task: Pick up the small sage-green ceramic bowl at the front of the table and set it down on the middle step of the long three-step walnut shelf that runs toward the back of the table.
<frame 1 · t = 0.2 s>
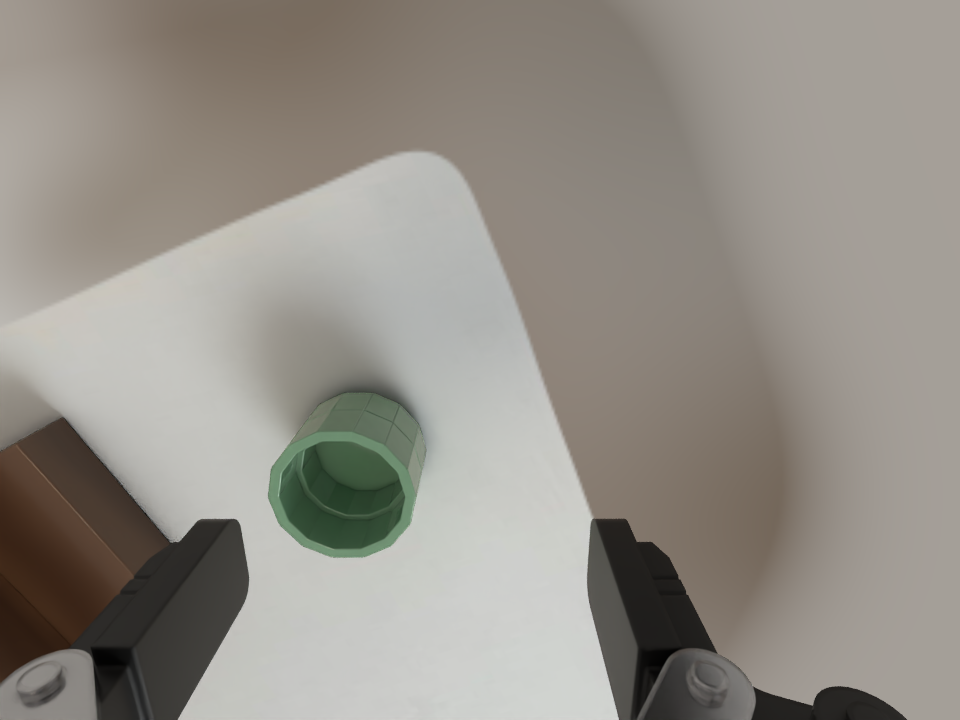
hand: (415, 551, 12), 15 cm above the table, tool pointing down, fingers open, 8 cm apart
bowl: (365, 444, 28), on the table
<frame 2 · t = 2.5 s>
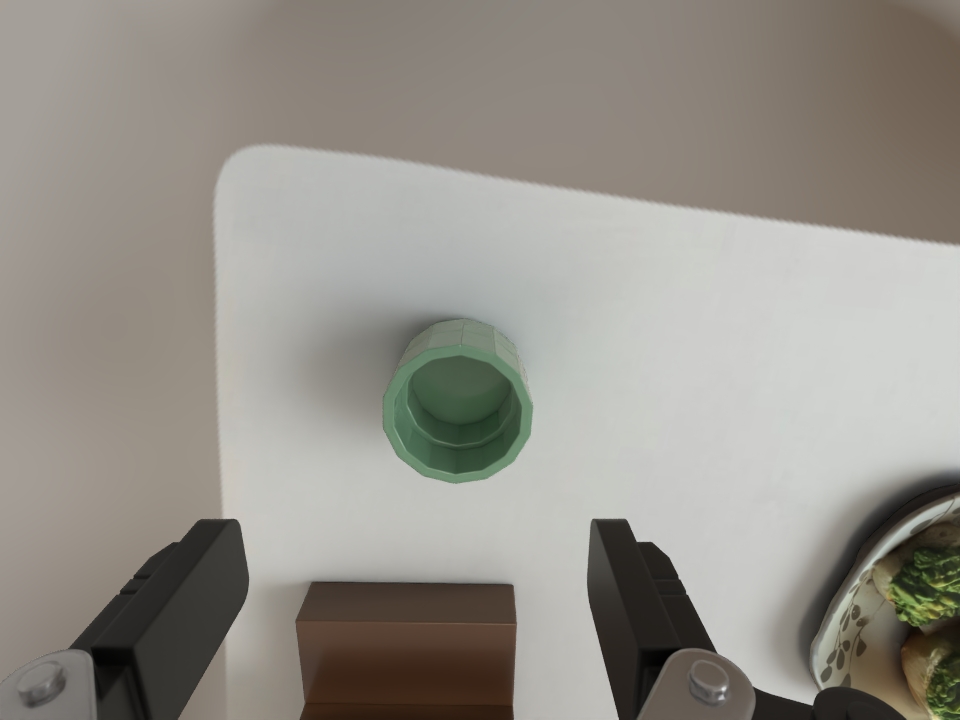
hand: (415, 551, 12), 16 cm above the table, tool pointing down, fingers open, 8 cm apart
salad plate: (959, 597, 32), on the table
bowl: (461, 377, 27), on the table
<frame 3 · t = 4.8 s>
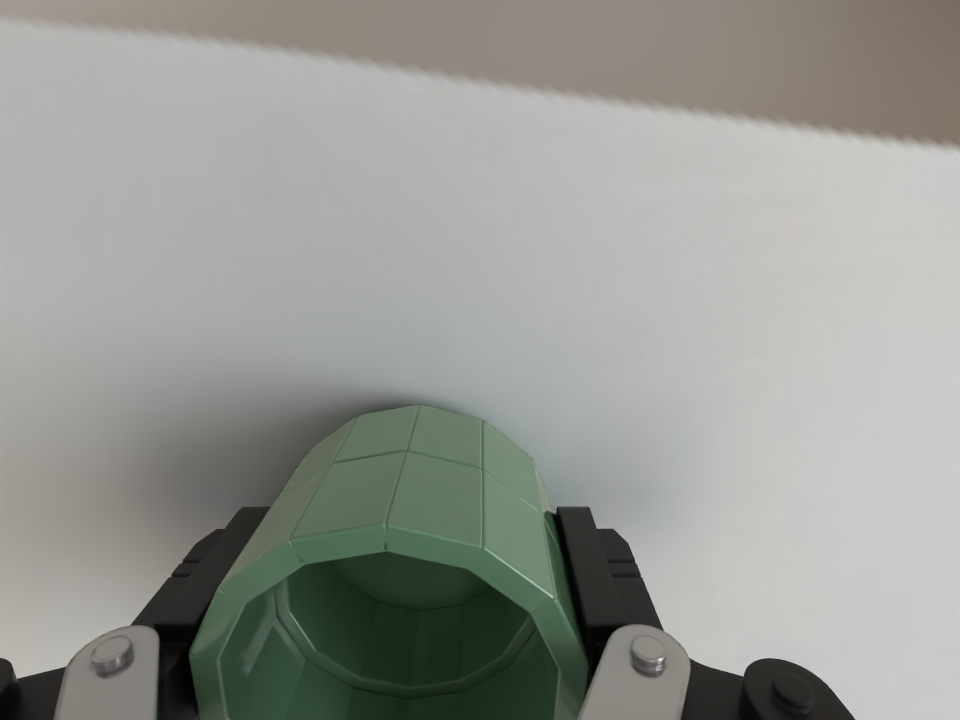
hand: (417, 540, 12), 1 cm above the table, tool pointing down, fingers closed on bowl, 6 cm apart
bowl: (422, 515, 13), on the table, touching gripper
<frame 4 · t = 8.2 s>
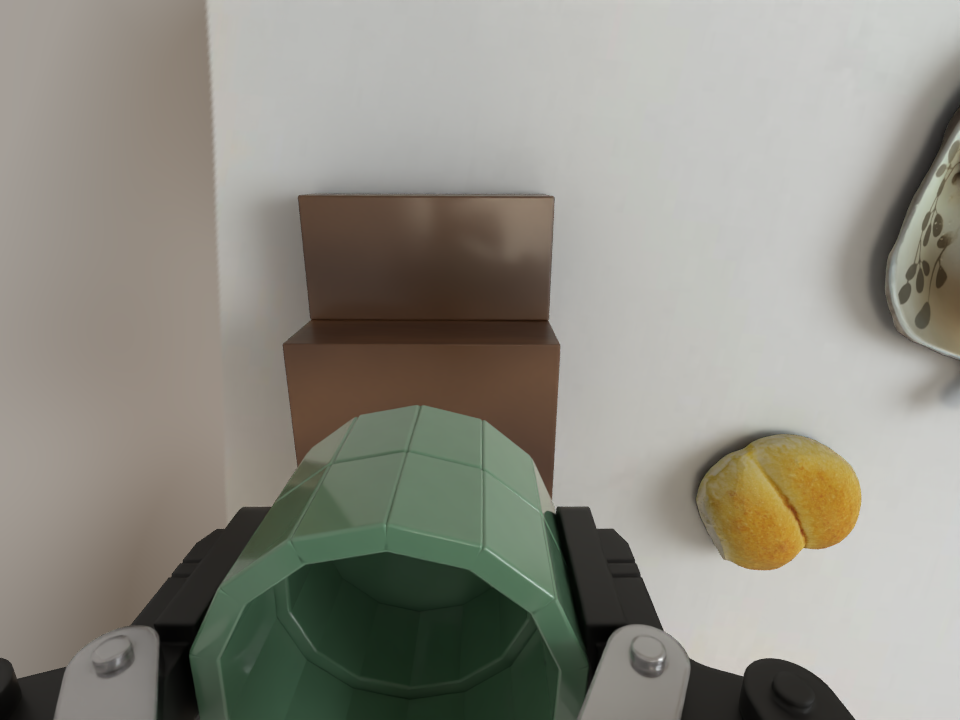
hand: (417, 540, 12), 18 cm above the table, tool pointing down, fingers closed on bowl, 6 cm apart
bread roll: (762, 490, 34), on the table
bowl: (423, 515, 13), point 17 cm above the table, touching gripper
shelf: (436, 398, 31), on the table
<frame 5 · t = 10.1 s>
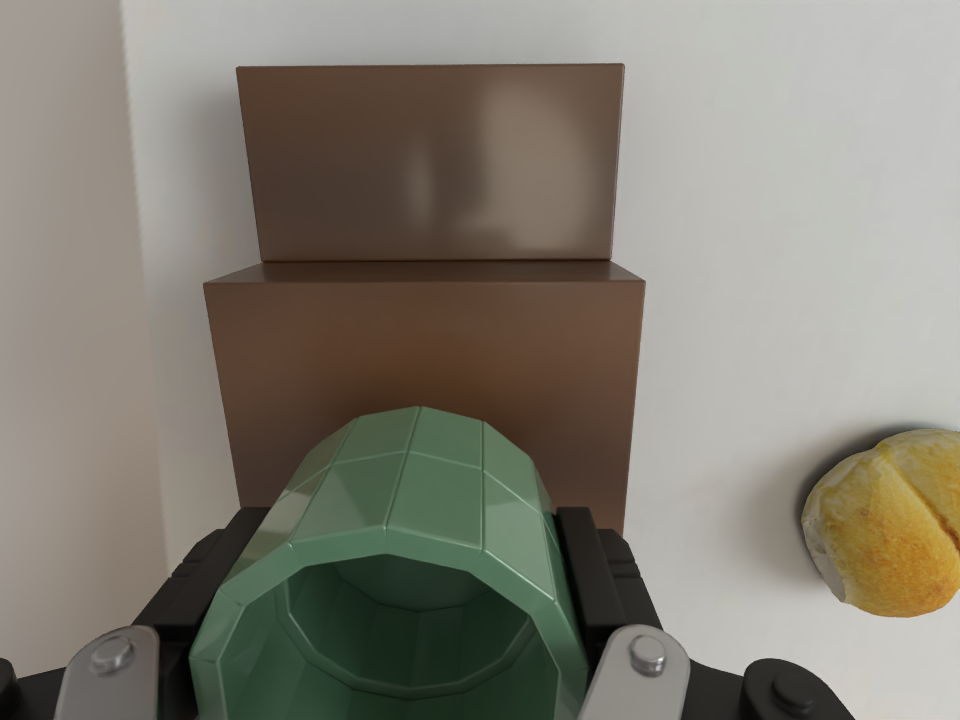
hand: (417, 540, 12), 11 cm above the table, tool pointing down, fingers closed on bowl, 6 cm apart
bread roll: (888, 506, 25), on the table
bowl: (422, 516, 13), point 10 cm above the table, touching gripper
shelf: (445, 382, 23), on the table
when the fingers open (8 cm above the table, at t = 11.5 s): bowl stays where it is, resting on shelf.
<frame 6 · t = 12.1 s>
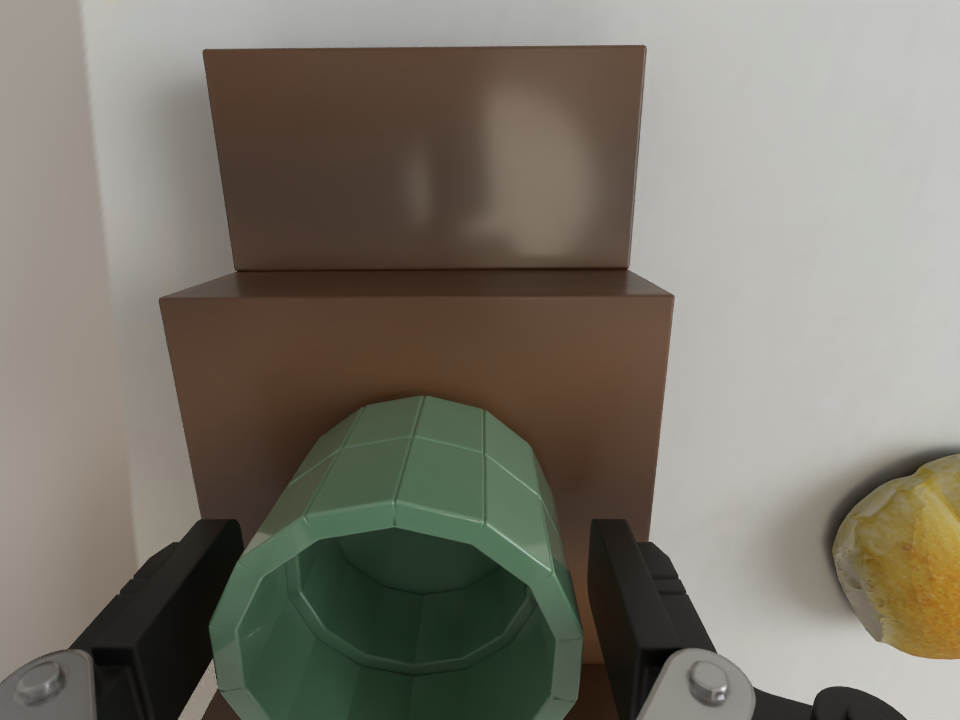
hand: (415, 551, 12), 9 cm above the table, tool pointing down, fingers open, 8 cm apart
bread roll: (927, 535, 23), on the table
bowl: (426, 502, 14), point 7 cm above the table, touching shelf
shelf: (443, 401, 21), on the table
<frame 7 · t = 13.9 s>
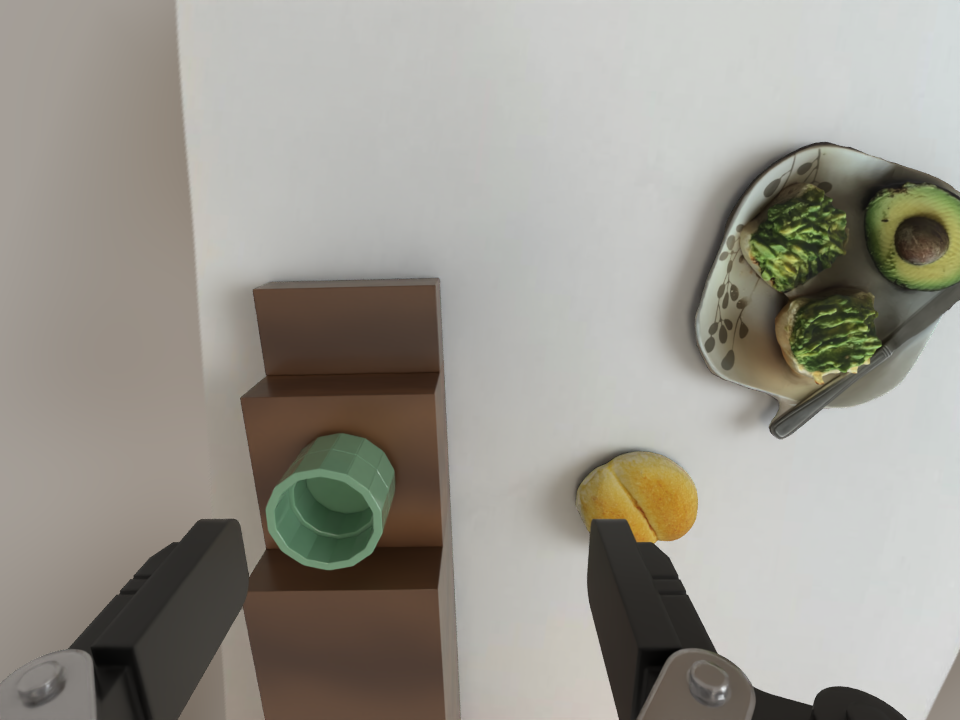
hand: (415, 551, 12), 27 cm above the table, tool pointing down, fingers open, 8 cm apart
salad plate: (824, 278, 37), on the table
bread roll: (630, 495, 43), on the table
bowl: (346, 475, 34), point 7 cm above the table, touching shelf
shelf: (368, 429, 41), on the table
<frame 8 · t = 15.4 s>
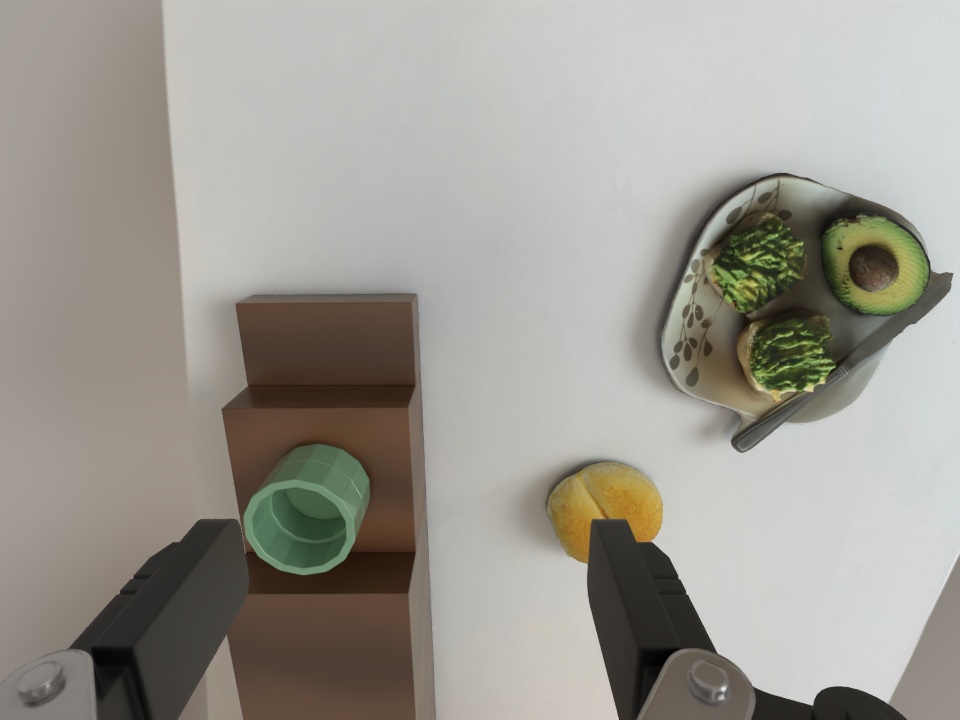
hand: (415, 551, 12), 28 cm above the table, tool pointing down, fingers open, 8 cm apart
salad plate: (785, 300, 39), on the table
bread roll: (599, 503, 44), on the table
bowl: (323, 483, 36), point 7 cm above the table, touching shelf
shelf: (348, 437, 42), on the table
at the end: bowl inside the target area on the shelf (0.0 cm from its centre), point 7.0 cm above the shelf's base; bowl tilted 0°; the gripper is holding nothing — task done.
